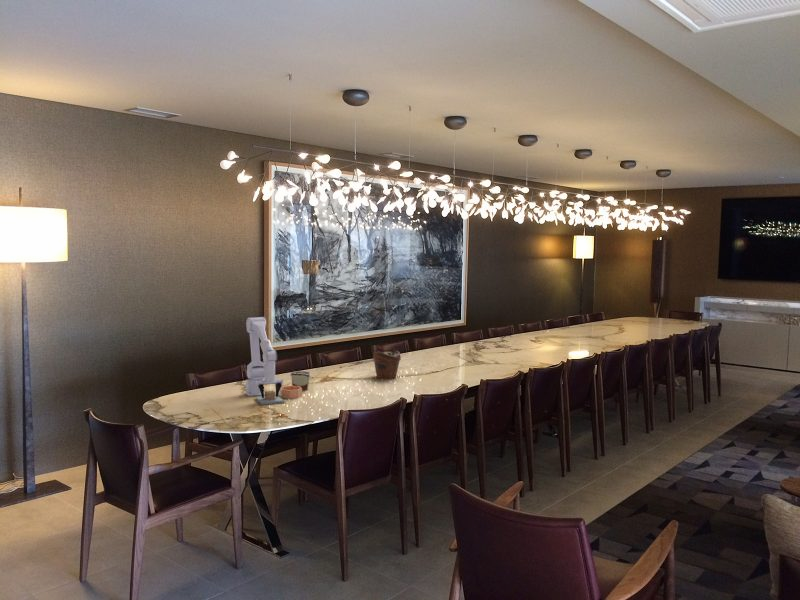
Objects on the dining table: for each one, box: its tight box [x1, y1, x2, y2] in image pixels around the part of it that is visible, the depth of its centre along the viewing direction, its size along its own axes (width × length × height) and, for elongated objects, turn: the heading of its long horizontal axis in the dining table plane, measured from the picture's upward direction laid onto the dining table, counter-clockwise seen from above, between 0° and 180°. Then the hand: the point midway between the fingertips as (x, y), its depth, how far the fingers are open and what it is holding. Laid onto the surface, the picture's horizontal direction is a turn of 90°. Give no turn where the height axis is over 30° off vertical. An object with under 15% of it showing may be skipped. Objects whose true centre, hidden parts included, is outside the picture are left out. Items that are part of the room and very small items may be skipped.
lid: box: [255, 390, 285, 404], centre depth 352 cm, size 12×12×5 cm
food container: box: [290, 370, 311, 391], centre depth 383 cm, size 12×6×10 cm, turn 74°
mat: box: [253, 398, 287, 406], centre depth 352 cm, size 14×14×1 cm
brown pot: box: [372, 349, 402, 380], centre depth 420 cm, size 18×20×18 cm
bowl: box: [279, 385, 303, 399], centre depth 365 cm, size 12×12×4 cm
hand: (269, 397), depth 352 cm, fingers open, 7 cm apart
